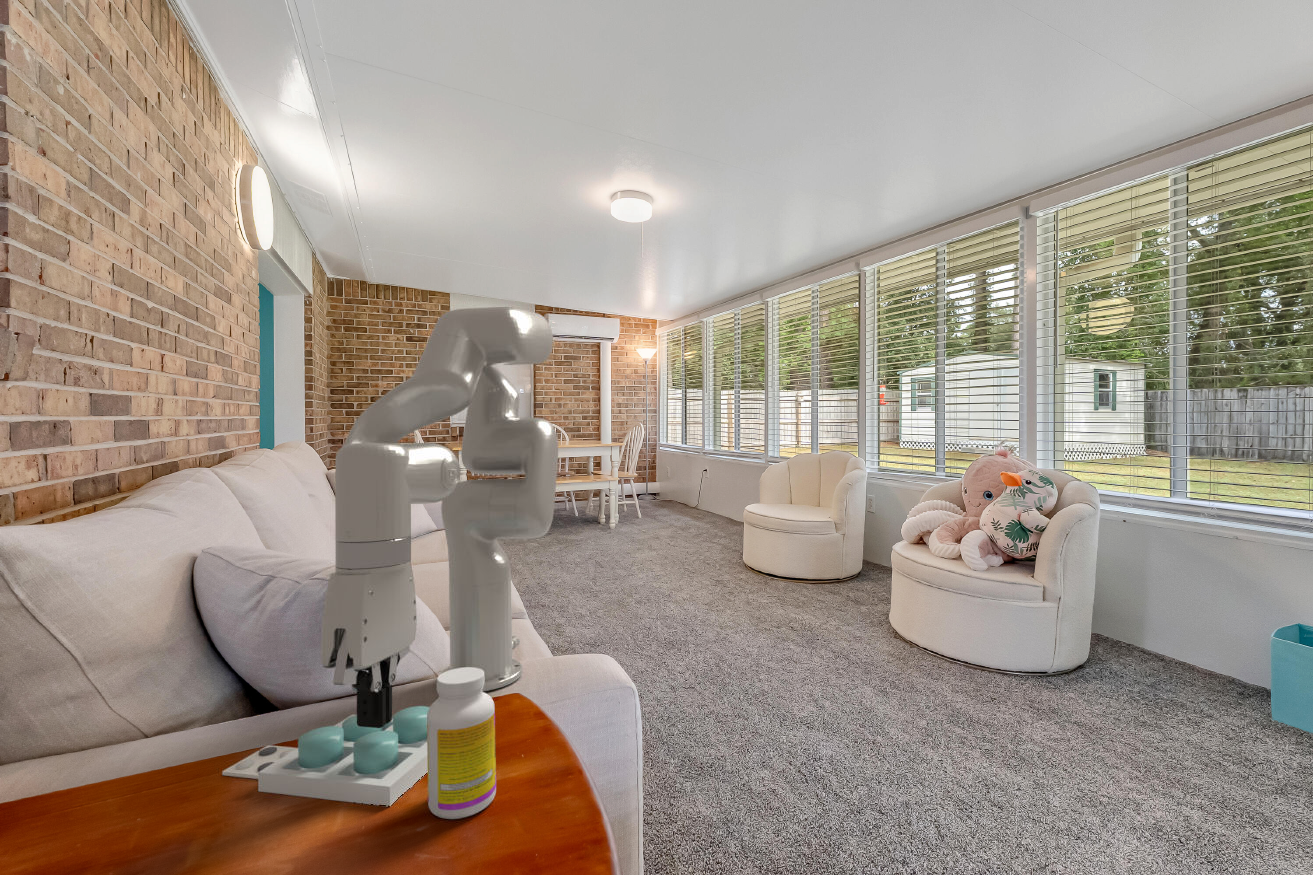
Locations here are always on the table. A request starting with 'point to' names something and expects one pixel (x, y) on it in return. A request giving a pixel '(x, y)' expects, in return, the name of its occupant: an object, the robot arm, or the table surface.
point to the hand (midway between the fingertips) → (374, 723)
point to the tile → (257, 762)
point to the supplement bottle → (461, 745)
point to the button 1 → (320, 747)
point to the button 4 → (411, 724)
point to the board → (347, 776)
